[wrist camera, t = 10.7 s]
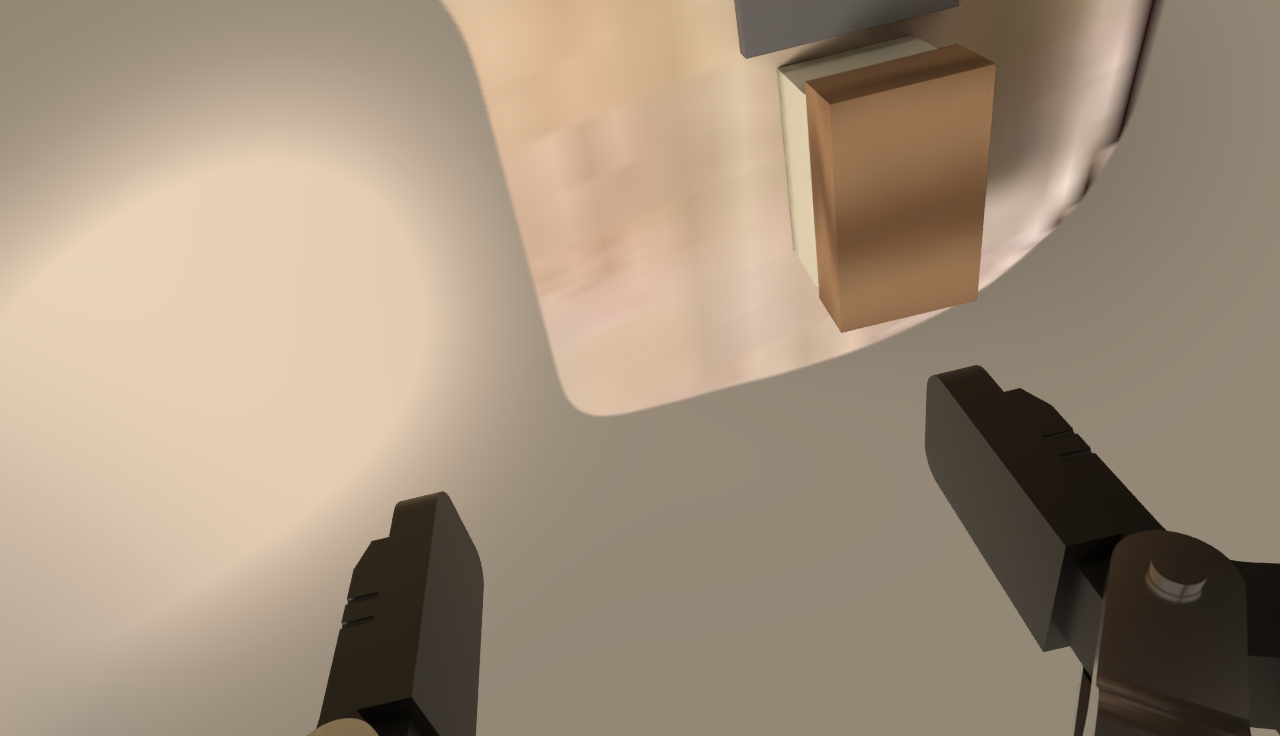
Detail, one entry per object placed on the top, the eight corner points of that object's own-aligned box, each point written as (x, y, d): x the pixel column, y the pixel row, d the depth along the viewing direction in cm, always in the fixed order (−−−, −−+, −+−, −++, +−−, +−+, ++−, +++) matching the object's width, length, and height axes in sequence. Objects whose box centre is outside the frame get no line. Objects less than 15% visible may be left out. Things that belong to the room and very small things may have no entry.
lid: (804, 81, 29) (830, 104, 27) (956, 44, 29) (996, 64, 27) (819, 297, 35) (841, 332, 33) (945, 267, 35) (977, 300, 32)
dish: (777, 68, 33) (804, 95, 29) (912, 34, 32) (955, 57, 29) (793, 249, 38) (818, 289, 35) (910, 221, 38) (945, 258, 35)
